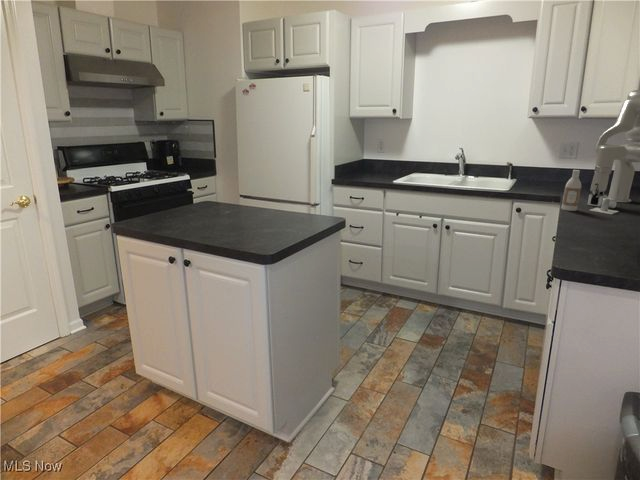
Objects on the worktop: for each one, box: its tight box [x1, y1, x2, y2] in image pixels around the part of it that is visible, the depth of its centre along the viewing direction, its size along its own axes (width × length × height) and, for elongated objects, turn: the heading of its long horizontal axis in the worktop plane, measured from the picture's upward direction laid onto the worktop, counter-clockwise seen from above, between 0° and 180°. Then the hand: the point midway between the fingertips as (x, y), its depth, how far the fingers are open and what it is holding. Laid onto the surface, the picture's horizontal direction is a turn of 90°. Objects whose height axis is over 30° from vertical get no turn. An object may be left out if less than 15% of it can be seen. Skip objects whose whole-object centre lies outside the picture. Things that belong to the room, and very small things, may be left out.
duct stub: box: [589, 198, 620, 215], centre depth 216 cm, size 10×10×6 cm
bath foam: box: [561, 169, 582, 212], centre depth 215 cm, size 7×7×20 cm
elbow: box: [586, 193, 618, 209], centre depth 227 cm, size 12×6×6 cm, turn 40°
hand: (596, 203), depth 230 cm, fingers closed on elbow, 6 cm apart
